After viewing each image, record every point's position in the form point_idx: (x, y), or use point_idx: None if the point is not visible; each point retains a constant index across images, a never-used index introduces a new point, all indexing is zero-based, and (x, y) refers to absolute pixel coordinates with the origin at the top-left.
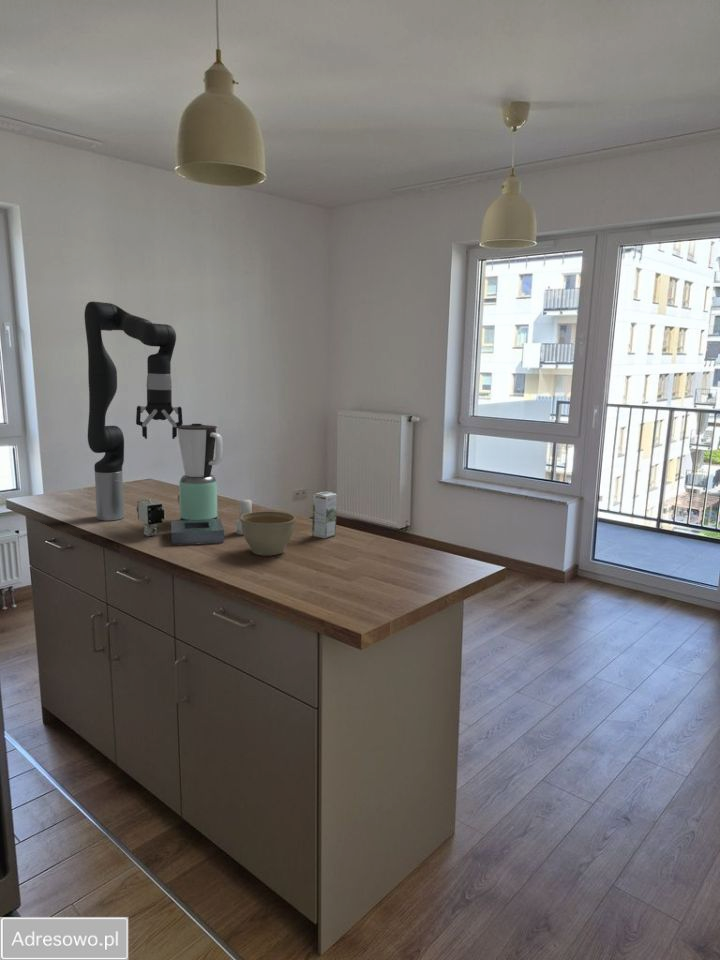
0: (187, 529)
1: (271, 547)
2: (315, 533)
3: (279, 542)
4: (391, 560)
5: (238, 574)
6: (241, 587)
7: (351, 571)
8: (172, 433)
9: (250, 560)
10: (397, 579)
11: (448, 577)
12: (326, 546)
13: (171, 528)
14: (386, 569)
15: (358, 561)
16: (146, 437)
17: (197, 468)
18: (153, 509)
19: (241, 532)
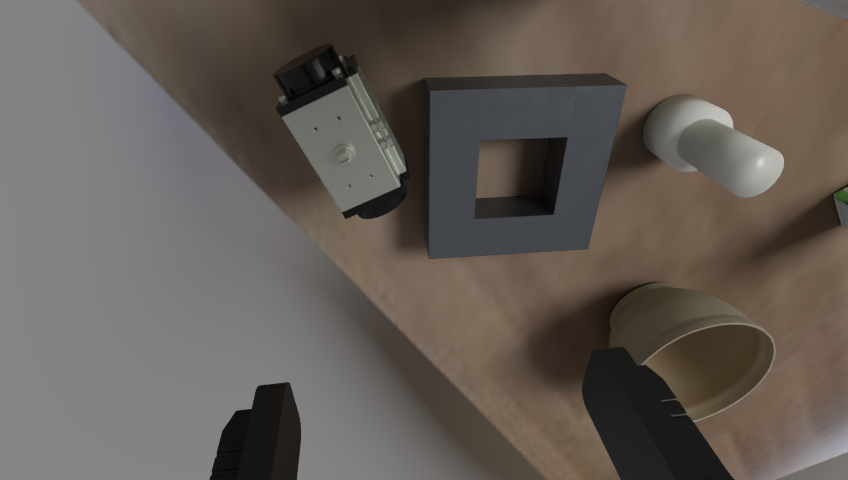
0: (481, 228)
1: (647, 362)
2: (841, 208)
3: (670, 371)
4: (831, 374)
5: (540, 417)
6: (529, 458)
7: (724, 414)
8: (609, 453)
9: (586, 357)
10: (761, 442)
11: (833, 439)
12: (792, 286)
13: (430, 209)
14: (783, 410)
15: (774, 375)
16: (295, 444)
17: None
18: (368, 215)
19: (654, 154)
